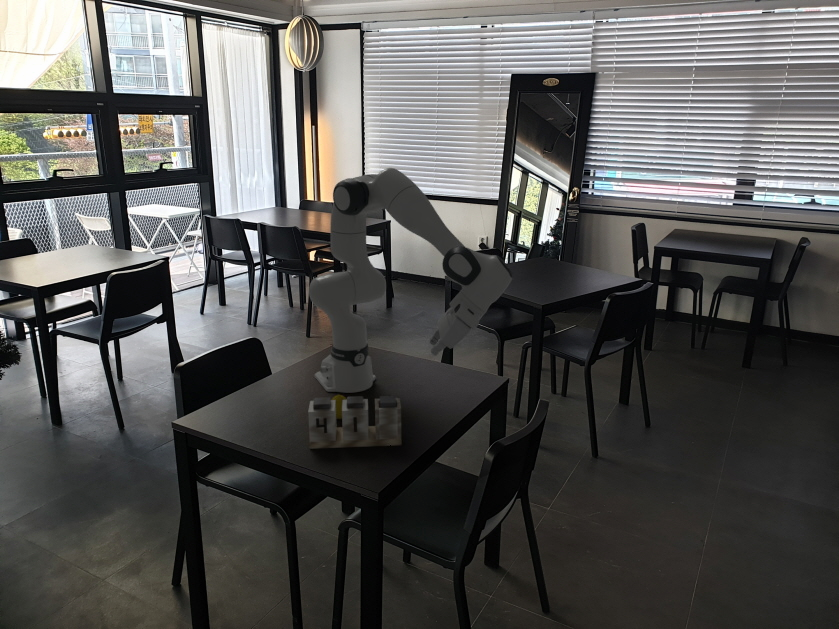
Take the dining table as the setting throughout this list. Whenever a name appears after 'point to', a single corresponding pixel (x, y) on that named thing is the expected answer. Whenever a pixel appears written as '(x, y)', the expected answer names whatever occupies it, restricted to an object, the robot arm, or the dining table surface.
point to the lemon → (339, 405)
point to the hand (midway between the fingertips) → (432, 348)
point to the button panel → (353, 424)
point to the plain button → (387, 401)
